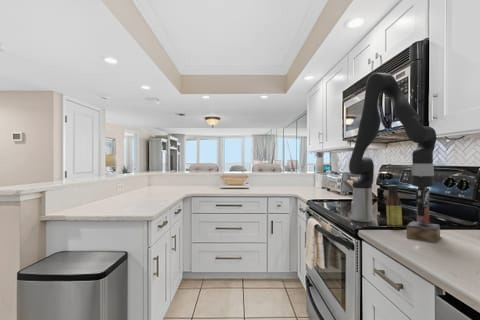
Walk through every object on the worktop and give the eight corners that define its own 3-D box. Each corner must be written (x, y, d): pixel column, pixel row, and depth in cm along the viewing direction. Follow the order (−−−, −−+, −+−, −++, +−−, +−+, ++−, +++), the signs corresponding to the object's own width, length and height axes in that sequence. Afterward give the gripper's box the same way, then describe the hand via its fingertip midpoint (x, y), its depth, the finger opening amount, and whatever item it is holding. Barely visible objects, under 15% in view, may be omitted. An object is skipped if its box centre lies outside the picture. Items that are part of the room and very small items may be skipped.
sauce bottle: (405, 228, 124) (404, 185, 124) (395, 229, 122) (395, 186, 122) (392, 225, 130) (392, 184, 130) (383, 226, 128) (382, 184, 128)
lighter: (414, 219, 114) (414, 196, 114) (423, 219, 113) (423, 196, 113) (421, 224, 106) (421, 198, 106) (431, 224, 106) (431, 199, 105)
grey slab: (406, 237, 110) (406, 225, 110) (411, 232, 117) (411, 221, 117) (436, 242, 103) (436, 229, 103) (440, 236, 110) (439, 224, 110)
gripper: (415, 173, 118) (415, 210, 118) (408, 175, 107) (408, 215, 107) (436, 174, 112) (436, 212, 112) (430, 175, 102) (431, 218, 102)
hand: (422, 214), depth 110 cm, fingers closed on lighter, 7 cm apart
